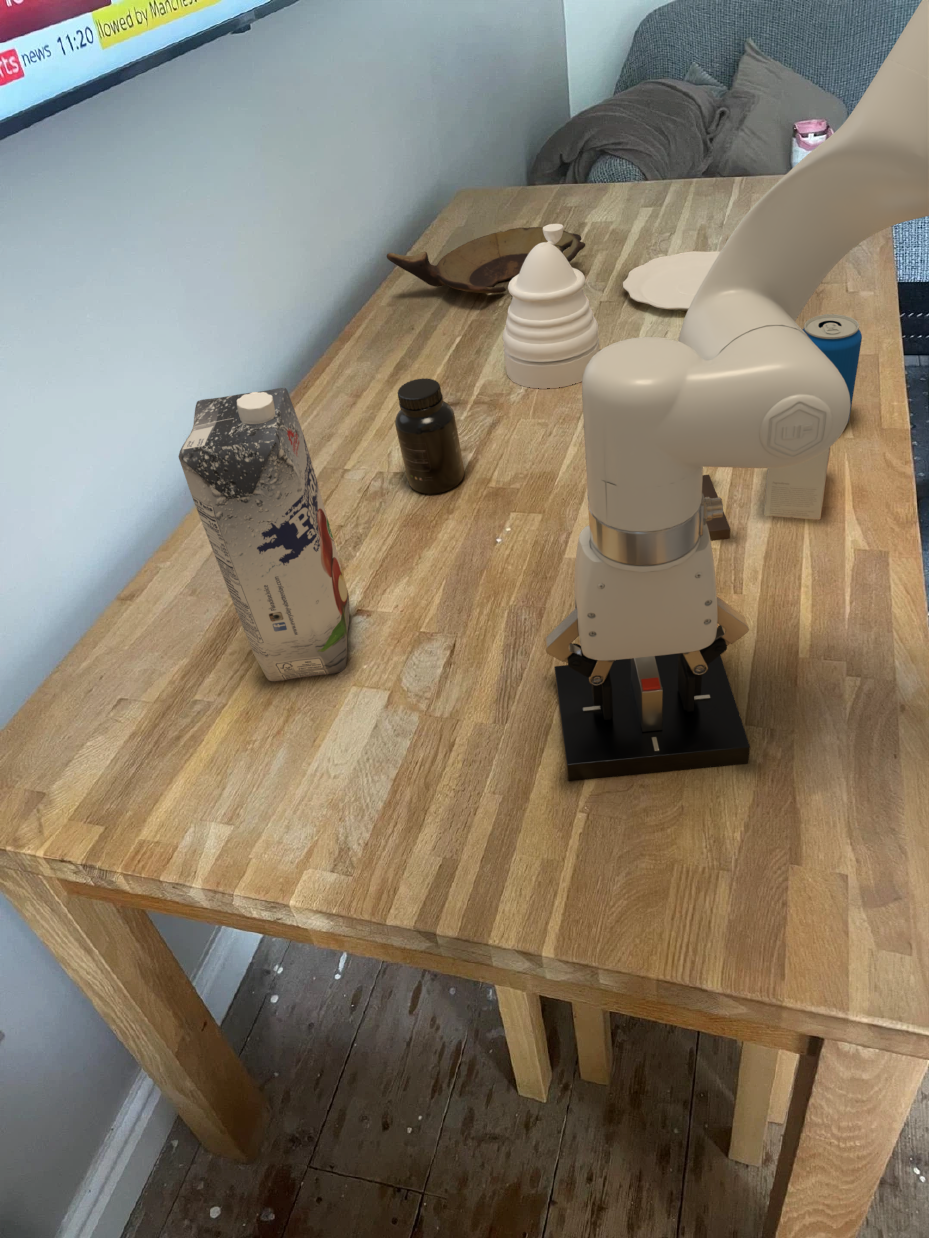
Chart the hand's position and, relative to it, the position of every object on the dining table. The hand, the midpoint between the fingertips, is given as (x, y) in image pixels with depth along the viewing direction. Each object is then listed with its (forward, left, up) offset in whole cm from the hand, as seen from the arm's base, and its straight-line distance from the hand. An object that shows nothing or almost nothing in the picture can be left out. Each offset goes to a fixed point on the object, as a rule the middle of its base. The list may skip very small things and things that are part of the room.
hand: (645, 701), depth 76 cm
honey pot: (+2, -67, -3) cm, 67 cm away
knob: (0, 0, 0) cm, 0 cm away
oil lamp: (+9, -99, -3) cm, 99 cm away
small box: (-20, -29, -3) cm, 35 cm away
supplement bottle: (+18, -42, -4) cm, 46 cm away
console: (0, 0, -3) cm, 3 cm away
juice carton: (+30, -14, -3) cm, 33 cm away
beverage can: (-27, -44, -3) cm, 52 cm away
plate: (-21, -86, -3) cm, 89 cm away
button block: (-6, -28, -3) cm, 29 cm away
